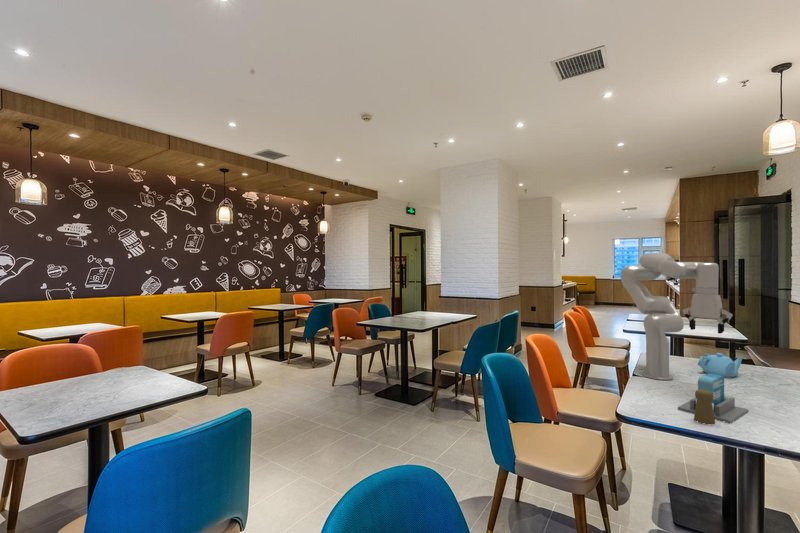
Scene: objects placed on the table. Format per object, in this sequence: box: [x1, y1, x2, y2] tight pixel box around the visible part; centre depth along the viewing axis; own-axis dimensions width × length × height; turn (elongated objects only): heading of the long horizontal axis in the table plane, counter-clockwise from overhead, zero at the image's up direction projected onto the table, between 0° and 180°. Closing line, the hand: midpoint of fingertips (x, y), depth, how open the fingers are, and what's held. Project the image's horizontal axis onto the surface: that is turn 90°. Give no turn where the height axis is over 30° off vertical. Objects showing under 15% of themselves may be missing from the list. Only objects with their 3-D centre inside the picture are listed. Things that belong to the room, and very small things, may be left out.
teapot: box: [697, 352, 743, 379], centre depth 193 cm, size 15×15×11 cm
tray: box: [677, 394, 749, 424], centre depth 145 cm, size 16×19×5 cm
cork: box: [693, 389, 716, 425], centre depth 135 cm, size 6×6×11 cm
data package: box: [697, 373, 725, 411], centre depth 145 cm, size 12×4×12 cm, turn 123°
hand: (706, 331), depth 162 cm, fingers open, 9 cm apart
